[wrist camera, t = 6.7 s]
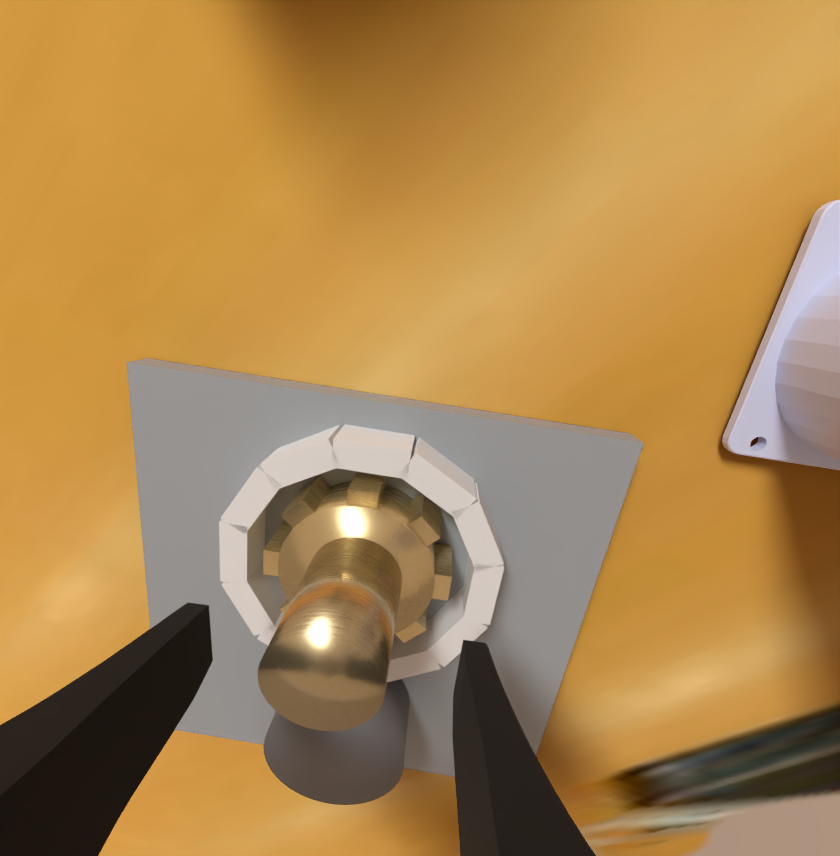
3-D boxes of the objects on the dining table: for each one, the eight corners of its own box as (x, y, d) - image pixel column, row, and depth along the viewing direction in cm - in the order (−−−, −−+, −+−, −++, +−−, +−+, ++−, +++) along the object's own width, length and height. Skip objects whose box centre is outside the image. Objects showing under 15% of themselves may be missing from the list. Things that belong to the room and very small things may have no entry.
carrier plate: (631, 433, 15) (684, 474, 11) (520, 765, 20) (535, 857, 17) (146, 358, 15) (61, 376, 12) (172, 707, 21) (120, 786, 17)
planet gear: (462, 479, 15) (472, 598, 9) (438, 621, 17) (433, 791, 11) (285, 455, 15) (183, 556, 9) (283, 598, 17) (199, 754, 11)
